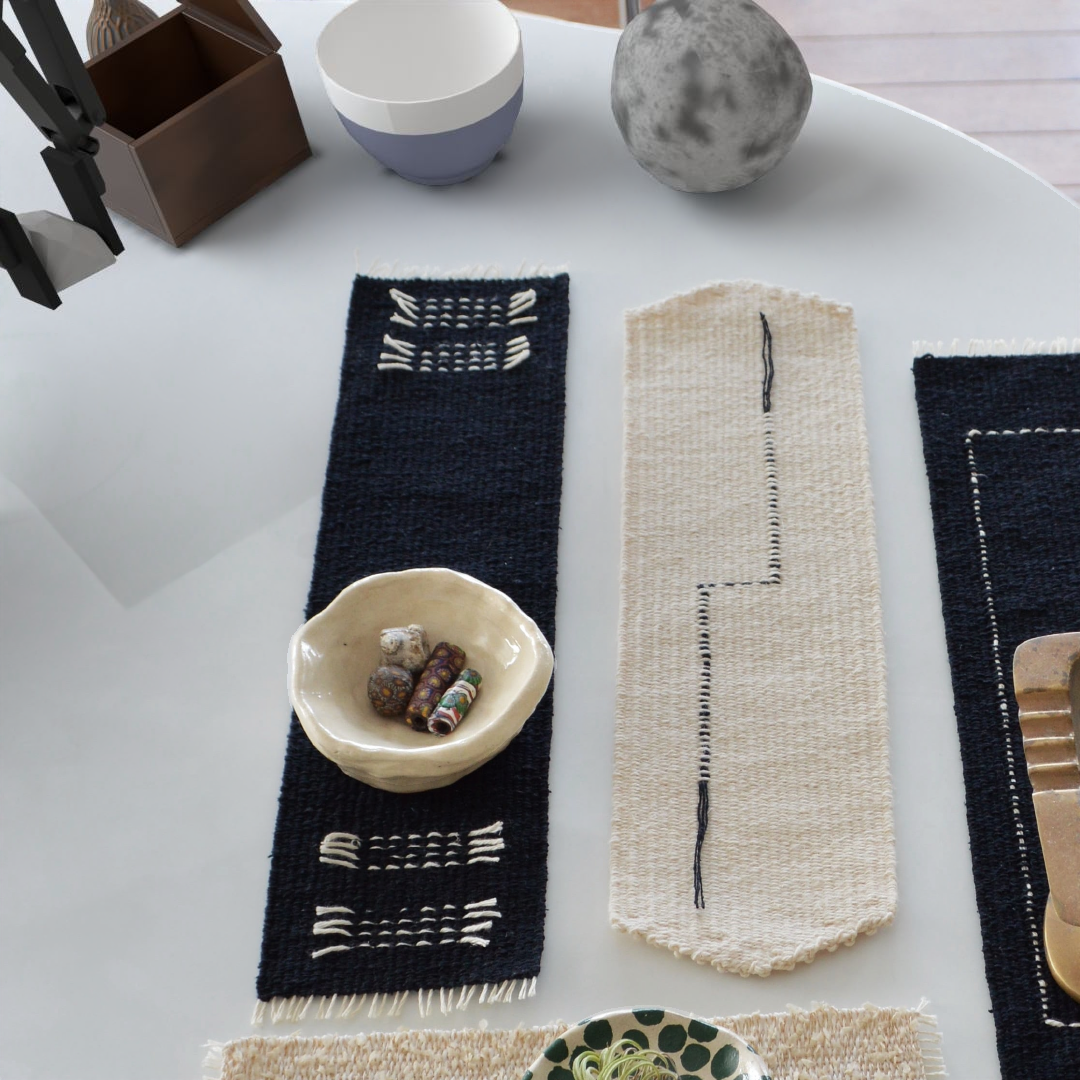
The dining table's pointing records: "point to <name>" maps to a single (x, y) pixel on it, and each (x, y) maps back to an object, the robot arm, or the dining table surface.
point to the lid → (237, 19)
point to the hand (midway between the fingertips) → (73, 271)
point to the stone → (708, 92)
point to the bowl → (425, 82)
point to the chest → (191, 123)
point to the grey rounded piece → (65, 247)
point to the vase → (115, 22)
